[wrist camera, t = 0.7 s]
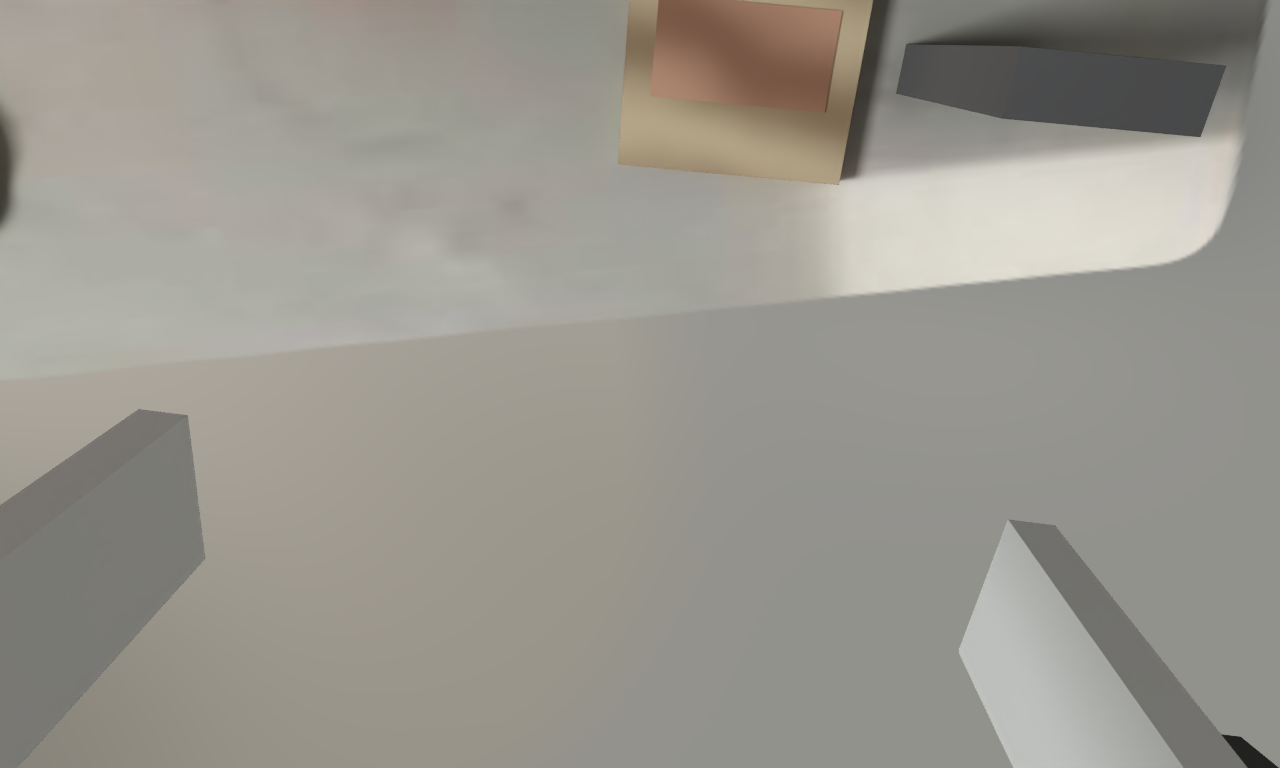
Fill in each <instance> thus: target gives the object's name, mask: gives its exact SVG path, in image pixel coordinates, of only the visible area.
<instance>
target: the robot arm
mask: <svg viewBox="0 0 1280 768" xmlns="http://www.w3.org/2000/svg"><path fill="white" fill-rule="evenodd" d="M204 559H205V553H204V544H203V537H202V528H201V520H200V512H199V504H198V496H197V487H196V479H195V471H194V464H193V455H192V447H191V439H190V431H189V423H188V416H187V415H180V414H172V413H164V412H157V411H149V410H140V409H138V410H137V411H136V412H134V413H133V414H131V415H130V416H128V417H127V418H125V419H124V420H123V421H121V422H120V423H118V424H117V425H115V426H114V427H112V428H111V429H110V430H108V431H107V432H105V433H104V434H102V435H101V436H99V437H98V438H97V439H95V440H94V441H92V442H91V443H89V444H88V445H87V446H85V447H84V448H82V449H81V450H79V451H78V452H76V453H75V454H73V455H72V456H71V457H69V458H68V459H66V460H65V461H63V462H62V463H60V464H59V465H58V466H56V467H55V468H53V469H52V470H51V471H49V472H48V473H46V474H45V475H43V476H42V477H41V478H39V479H37V480H36V481H35V482H33V483H32V484H30V485H29V486H27V487H26V488H24V489H23V490H22V491H20V492H19V493H17V494H16V495H14V496H13V497H11V498H10V499H9V500H7V501H6V502H4V503H3V504H1V505H0V768H17V767H18V766H19V765H20V764H21V763H22V762H23V761H24V760H25V759H26V758H27V757H28V755H29V754H30V753H31V752H32V751H33V750H34V749H35V748H36V746H37V745H38V744H39V743H40V742H41V741H42V740H43V738H44V737H45V736H46V735H47V734H48V733H49V732H50V731H51V730H52V729H53V727H54V726H55V725H56V724H57V723H58V722H59V721H60V720H61V719H62V718H63V716H64V715H65V714H66V713H67V712H68V711H69V710H70V709H71V708H72V706H73V705H74V704H75V703H76V702H77V701H78V700H79V699H80V697H81V696H82V695H83V694H84V693H85V692H86V691H87V690H88V689H89V687H90V686H91V685H92V684H93V683H94V682H95V681H96V680H97V679H98V677H99V676H100V675H101V674H102V673H103V672H104V671H105V670H106V669H107V667H108V666H109V665H110V664H111V663H112V662H113V661H114V660H115V658H116V657H117V656H118V655H119V654H120V653H121V652H122V651H123V649H124V648H125V647H126V646H127V645H128V644H129V643H130V642H131V641H132V640H133V638H134V637H135V636H136V635H137V634H138V633H139V632H140V631H141V630H142V628H143V627H144V626H145V625H146V624H147V623H148V622H149V620H151V618H152V617H153V616H154V615H155V614H156V613H157V612H158V611H159V609H160V608H161V607H162V606H163V605H164V604H165V603H166V602H167V601H168V599H169V598H170V597H171V596H172V595H173V594H174V593H175V592H176V591H177V589H178V588H179V587H180V586H181V585H182V584H183V583H184V582H185V581H186V579H187V578H188V577H189V576H190V575H191V574H192V573H193V572H194V570H195V569H196V568H197V567H198V566H199V565H200V564H201V562H202V561H203V560H204ZM959 654H960V655H961V658H962V660H963V662H964V665H965V667H966V669H967V671H968V673H969V675H970V677H971V679H972V682H973V683H974V686H975V688H976V690H977V692H978V694H979V696H980V698H981V701H982V703H983V705H984V707H985V709H986V711H987V713H988V715H989V717H990V720H991V722H992V724H993V726H994V728H995V730H996V732H997V734H998V737H999V739H1000V741H1001V743H1002V745H1003V747H1004V749H1005V751H1006V753H1007V756H1008V757H1009V760H1010V762H1011V764H1012V766H1013V768H1278V767H1277V766H1276V765H1275V764H1273V763H1272V762H1271V761H1270V760H1268V759H1267V758H1266V757H1265V756H1263V755H1262V754H1261V753H1260V752H1259V751H1257V750H1256V749H1255V748H1253V747H1252V746H1251V745H1250V744H1249V743H1248V742H1246V741H1245V740H1244V739H1243V738H1241V737H1238V736H1229V735H1221V734H1220V732H1219V731H1218V730H1217V729H1216V727H1215V726H1214V725H1213V724H1212V722H1211V721H1210V720H1209V719H1208V717H1207V716H1206V715H1205V714H1204V712H1203V711H1202V710H1201V709H1200V707H1199V706H1198V705H1197V704H1196V702H1195V701H1194V700H1193V699H1192V697H1191V696H1190V695H1189V693H1188V692H1187V691H1186V690H1185V688H1184V687H1183V686H1182V685H1181V683H1180V682H1179V681H1178V680H1177V678H1176V677H1175V676H1174V675H1173V673H1172V672H1171V671H1170V670H1169V668H1168V667H1167V666H1166V664H1165V663H1164V662H1163V661H1162V659H1161V658H1160V657H1159V656H1158V654H1157V653H1156V652H1155V651H1154V649H1153V648H1152V647H1151V646H1150V644H1149V643H1148V642H1147V641H1146V639H1145V638H1144V637H1143V636H1142V634H1141V633H1140V632H1139V631H1138V629H1137V628H1136V627H1135V626H1134V624H1133V623H1132V622H1131V620H1130V619H1129V618H1128V617H1127V615H1126V614H1125V613H1124V612H1123V610H1122V609H1121V608H1120V607H1119V605H1118V604H1117V603H1116V602H1115V600H1114V599H1113V598H1112V597H1111V595H1110V594H1109V593H1108V592H1107V590H1106V589H1105V588H1104V587H1103V585H1102V584H1101V583H1100V581H1098V579H1097V578H1096V577H1095V575H1094V574H1093V573H1092V571H1091V570H1090V569H1089V568H1088V567H1087V565H1086V564H1085V563H1084V562H1083V560H1082V559H1081V558H1080V556H1079V555H1078V554H1077V553H1076V552H1075V550H1074V549H1073V548H1072V546H1071V545H1070V544H1069V543H1068V541H1067V540H1066V539H1065V537H1064V536H1063V535H1062V534H1061V533H1060V531H1059V530H1058V529H1057V527H1056V526H1055V525H1047V524H1039V523H1032V522H1023V521H1015V520H1008V521H1007V524H1006V526H1005V529H1004V532H1003V534H1002V537H1001V540H1000V542H999V545H998V548H997V551H996V553H995V556H994V558H993V561H992V564H991V566H990V569H989V571H988V574H987V577H986V580H985V582H984V585H983V588H982V590H981V593H980V596H979V598H978V601H977V603H976V606H975V609H974V612H973V614H972V617H971V619H970V622H969V625H968V627H967V630H966V633H965V636H964V638H963V641H962V643H961V646H960V649H959Z"/></svg>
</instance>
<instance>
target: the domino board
mask: <svg viewBox="0 0 1280 768" xmlns="http://www.w3.org/2000/svg"><path fill="white" fill-rule="evenodd" d="M872 4H873V0H630V2H629V16H628V30H627V44H626V58H625V71H624V85H623V99H622V113H621V126H620V140H619V154H618V164H620V165H631V166H642V167H652V168H663V169H674V170H684V171H695V172H705V173H716V174H727V175H737V176H748V177H759V178H769V179H780V180H791V181H801V182H812V183H823V184H833V185H839V181H840V176H841V170H842V165H843V160H844V154H845V149H846V144H847V138H848V133H849V128H850V122H851V117H852V111H853V106H854V101H855V95H856V90H857V85H858V79H859V74H860V69H861V63H862V58H863V53H864V47H865V42H866V36H867V31H868V26H869V20H870V15H871V10H872Z"/></svg>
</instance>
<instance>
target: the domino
mask: <svg viewBox="0 0 1280 768" xmlns="http://www.w3.org/2000/svg"><path fill="white" fill-rule="evenodd" d="M1225 68H1226V66H1224V65H1213V64H1203V63H1192V62H1182V61H1171V60H1160V59H1150V58H1139V57H1129V56H1118V55H1107V54H1097V53H1086V52H1076V51H1065V50H1054V49H1044V48H1033V47H1023V46H972V45H916V44H906V49H905V54H904V59H903V64H902V68H901V73H900V78H899V83H898V88H897V93H896V94H901V95H905V96H909V97H913V98H918V99H922V100H926V101H930V102H935V103H939V104H943V105H947V106H952V107H956V108H960V109H964V110H969V111H973V112H977V113H981V114H986V115H990V116H994V117H998V118H1003V119H1014V120H1024V121H1035V122H1045V123H1056V124H1067V125H1077V126H1088V127H1099V128H1109V129H1120V130H1131V131H1141V132H1152V133H1162V134H1173V135H1184V136H1194V137H1201V134H1202V131H1203V128H1204V126H1205V123H1206V120H1207V117H1208V114H1209V112H1210V109H1211V106H1212V103H1213V101H1214V98H1215V95H1216V92H1217V90H1218V87H1219V84H1220V81H1221V79H1222V76H1223V73H1224V70H1225Z"/></svg>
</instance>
